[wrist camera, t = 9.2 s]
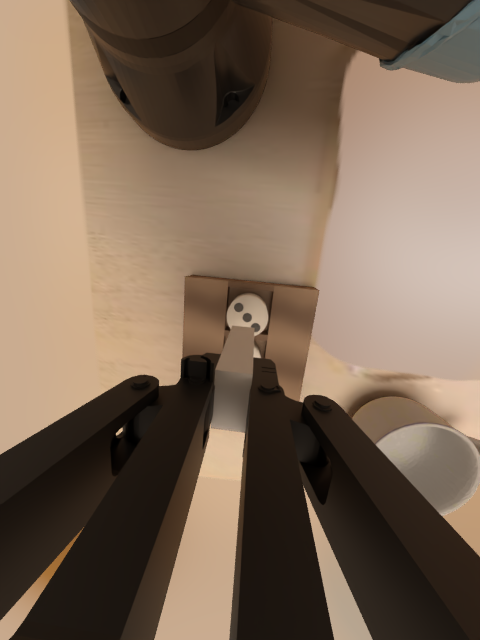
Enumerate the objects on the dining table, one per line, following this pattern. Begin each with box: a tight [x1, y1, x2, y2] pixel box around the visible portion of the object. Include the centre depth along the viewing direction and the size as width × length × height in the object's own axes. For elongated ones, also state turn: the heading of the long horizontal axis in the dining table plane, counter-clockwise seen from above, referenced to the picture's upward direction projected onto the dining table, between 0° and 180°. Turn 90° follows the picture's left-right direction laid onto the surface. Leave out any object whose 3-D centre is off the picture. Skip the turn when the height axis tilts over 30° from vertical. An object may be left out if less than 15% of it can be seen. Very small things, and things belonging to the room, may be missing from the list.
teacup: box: [352, 396, 480, 516], centre depth 26 cm, size 14×11×8 cm
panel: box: [182, 275, 319, 401], centre depth 28 cm, size 17×14×2 cm
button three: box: [227, 293, 268, 336], centre depth 24 cm, size 4×4×3 cm
